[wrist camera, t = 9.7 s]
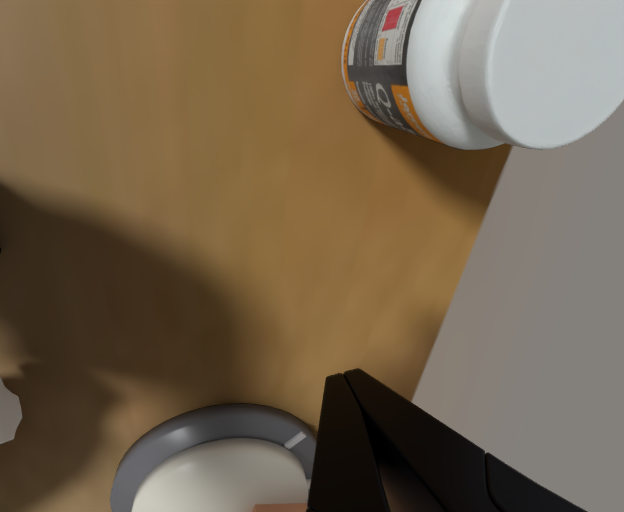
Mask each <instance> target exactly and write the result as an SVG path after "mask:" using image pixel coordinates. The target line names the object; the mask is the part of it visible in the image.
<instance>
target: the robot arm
mask: <svg viewBox="0 0 624 512" xmlns="http://www.w3.org/2000/svg"><path fill="white" fill-rule="evenodd" d="M0 253H1V248H0ZM307 508H308V509H306V512H587V511H585V510H583V509H582V508H580V507H578V506H576V505H574V504H573V503H571V502H569V501H567V500H566V499H564V498H562V497H560V496H559V495H557V494H555V493H553V492H552V491H550V490H548V489H546V488H544V487H543V486H541V485H539V484H537V483H536V482H534V481H533V480H531V479H529V478H528V477H526V476H525V475H523V474H521V473H520V472H518V471H517V470H515V469H513V468H512V467H510V466H509V465H507V464H505V463H504V462H502V461H501V460H499V459H498V458H496V457H495V456H493V455H492V454H490V453H486V454H485V451H484V450H483V449H482V448H480V447H478V446H477V445H475V444H474V443H472V442H471V441H469V440H468V439H466V438H465V437H463V436H462V435H460V434H459V433H457V432H456V431H454V430H452V429H451V428H449V427H448V426H446V425H445V424H443V423H442V422H440V421H439V420H437V419H436V418H434V417H433V416H431V415H430V414H428V413H427V412H425V411H423V410H422V409H421V408H419V407H418V406H416V405H414V404H413V403H411V402H410V401H408V400H407V399H405V398H404V397H402V396H401V395H399V394H398V393H396V392H395V391H393V390H392V389H390V388H389V387H387V386H386V385H384V384H382V383H381V382H379V381H378V380H376V379H375V378H373V377H372V376H370V375H369V374H367V373H366V372H364V371H363V370H361V369H359V368H357V369H353V370H349V371H346V372H344V374H342V373H338V374H334V375H331V376H328V377H326V381H325V387H324V394H323V401H322V408H321V415H320V421H319V428H318V435H317V442H316V449H315V455H314V462H313V469H312V476H311V483H310V489H309V496H308V503H307Z"/></svg>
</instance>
